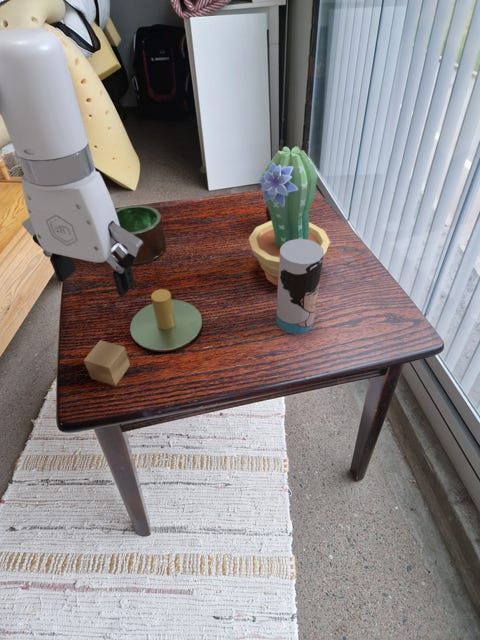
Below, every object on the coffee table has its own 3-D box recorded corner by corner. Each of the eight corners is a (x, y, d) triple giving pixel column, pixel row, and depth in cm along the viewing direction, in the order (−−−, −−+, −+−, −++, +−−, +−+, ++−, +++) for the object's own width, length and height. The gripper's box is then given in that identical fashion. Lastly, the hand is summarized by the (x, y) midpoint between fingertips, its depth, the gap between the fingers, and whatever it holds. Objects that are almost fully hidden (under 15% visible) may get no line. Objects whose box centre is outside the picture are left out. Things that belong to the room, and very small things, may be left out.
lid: (117, 343, 72) (107, 311, 67) (152, 298, 81) (145, 266, 75) (184, 362, 69) (178, 329, 64) (213, 312, 77) (210, 280, 72)
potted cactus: (237, 262, 88) (233, 141, 71) (301, 244, 93) (312, 126, 75) (269, 306, 78) (274, 179, 61) (340, 284, 82) (363, 159, 65)
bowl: (101, 259, 90) (92, 228, 85) (129, 231, 98) (122, 201, 93) (149, 269, 87) (143, 238, 82) (174, 239, 95) (170, 209, 90)
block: (91, 378, 67) (83, 360, 64) (106, 358, 70) (100, 339, 67) (115, 386, 66) (108, 367, 62) (130, 365, 69) (124, 346, 65)
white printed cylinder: (306, 338, 72) (315, 268, 62) (270, 327, 74) (273, 257, 64) (318, 314, 76) (329, 244, 66) (284, 303, 79) (289, 235, 68)
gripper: (-28, 167, 47) (28, 286, 59) (106, 189, 42) (137, 313, 54) (18, 141, 52) (61, 256, 64) (142, 159, 47) (164, 279, 59)
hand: (96, 282), depth 59 cm, fingers open, 9 cm apart
